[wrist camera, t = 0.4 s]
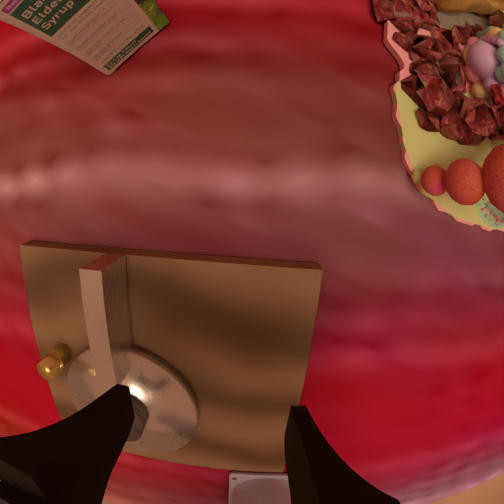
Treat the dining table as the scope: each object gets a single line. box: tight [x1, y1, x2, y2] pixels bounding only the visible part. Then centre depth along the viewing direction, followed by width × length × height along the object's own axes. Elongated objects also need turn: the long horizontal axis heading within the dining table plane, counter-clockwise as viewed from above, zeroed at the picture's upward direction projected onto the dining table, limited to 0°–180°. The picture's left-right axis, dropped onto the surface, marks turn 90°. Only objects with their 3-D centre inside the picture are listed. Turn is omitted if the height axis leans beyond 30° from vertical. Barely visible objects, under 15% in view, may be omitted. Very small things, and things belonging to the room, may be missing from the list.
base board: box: [20, 241, 323, 472], centre depth 22 cm, size 20×22×2 cm
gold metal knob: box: [37, 343, 73, 381], centre depth 19 cm, size 2×2×3 cm
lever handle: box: [67, 253, 199, 453], centre depth 19 cm, size 18×11×3 cm, turn 176°
